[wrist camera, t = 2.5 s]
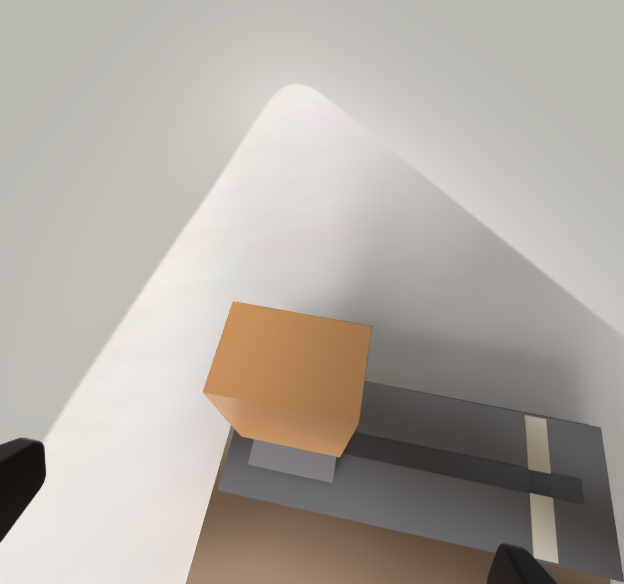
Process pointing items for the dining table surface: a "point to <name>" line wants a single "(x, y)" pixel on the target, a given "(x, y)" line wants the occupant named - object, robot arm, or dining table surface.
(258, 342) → the cap
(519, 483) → the fader console
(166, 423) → the dining table surface
